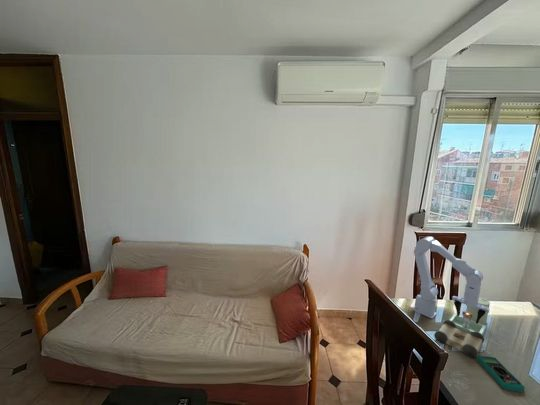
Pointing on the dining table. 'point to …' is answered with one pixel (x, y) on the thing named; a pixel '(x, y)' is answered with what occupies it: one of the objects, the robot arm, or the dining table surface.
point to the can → (475, 311)
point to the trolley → (460, 338)
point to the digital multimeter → (500, 373)
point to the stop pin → (466, 319)
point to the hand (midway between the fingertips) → (467, 318)
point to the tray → (473, 325)
